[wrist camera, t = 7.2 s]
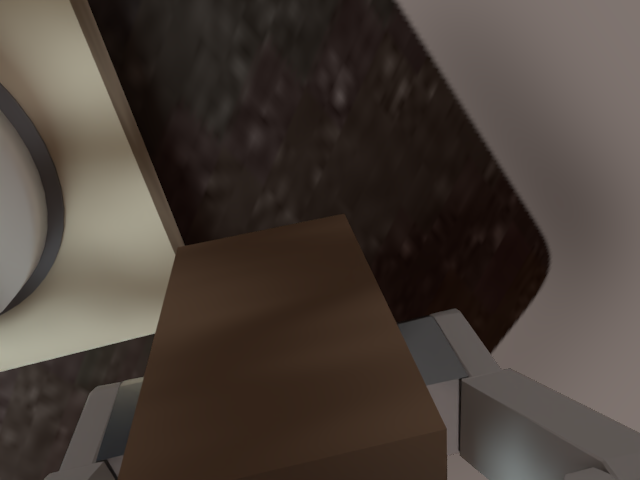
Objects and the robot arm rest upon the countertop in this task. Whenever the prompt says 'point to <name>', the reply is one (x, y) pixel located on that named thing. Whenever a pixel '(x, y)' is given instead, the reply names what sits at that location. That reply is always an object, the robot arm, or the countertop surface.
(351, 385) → the block
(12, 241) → the dial
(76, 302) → the panel
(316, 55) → the countertop surface
